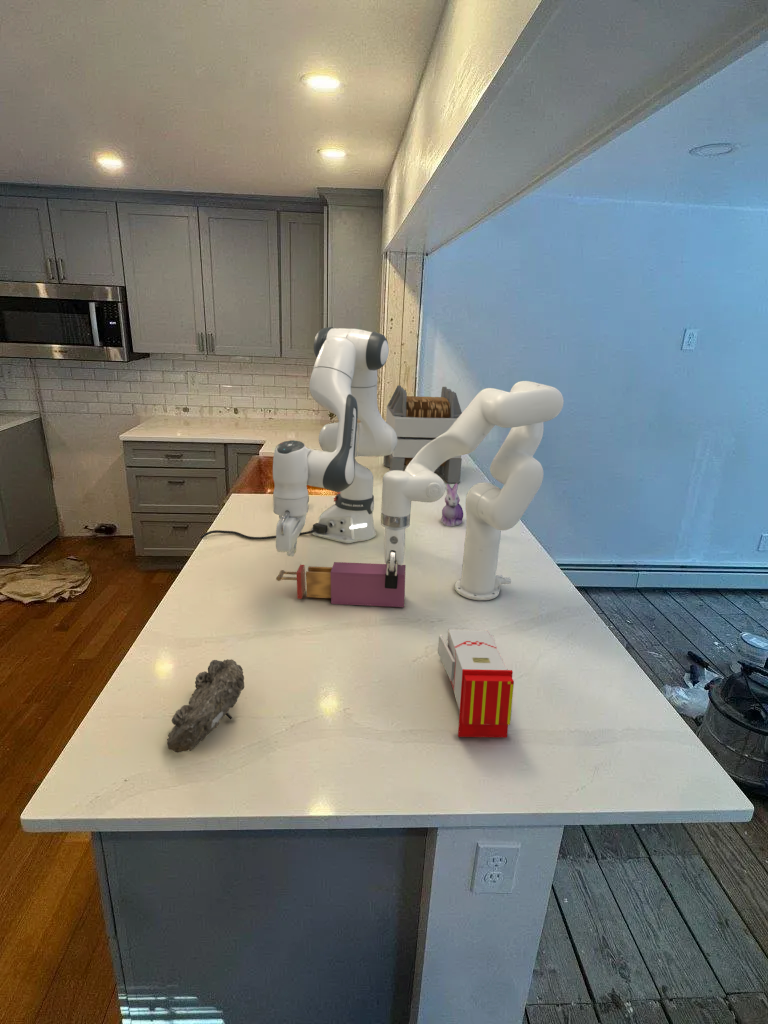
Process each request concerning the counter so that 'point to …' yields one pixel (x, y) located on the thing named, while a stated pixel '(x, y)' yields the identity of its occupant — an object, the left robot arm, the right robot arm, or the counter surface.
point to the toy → (478, 682)
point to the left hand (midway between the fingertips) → (291, 554)
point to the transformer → (421, 427)
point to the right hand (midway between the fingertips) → (391, 581)
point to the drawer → (311, 581)
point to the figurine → (452, 507)
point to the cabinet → (365, 585)
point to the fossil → (206, 705)
